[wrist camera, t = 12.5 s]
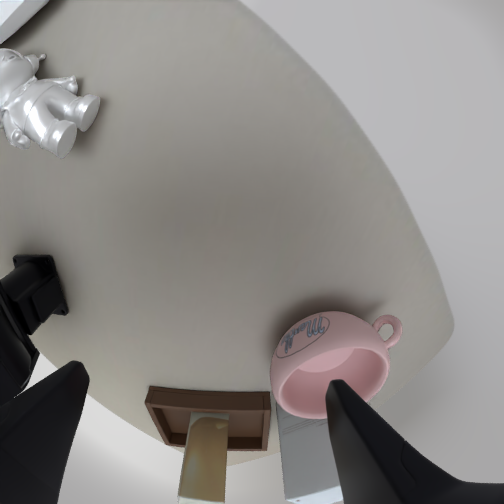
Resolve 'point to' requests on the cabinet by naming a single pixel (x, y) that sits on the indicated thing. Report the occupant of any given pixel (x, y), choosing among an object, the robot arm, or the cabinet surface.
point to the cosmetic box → (204, 460)
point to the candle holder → (16, 15)
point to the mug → (330, 360)
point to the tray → (233, 403)
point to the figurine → (41, 105)
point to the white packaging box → (307, 460)
